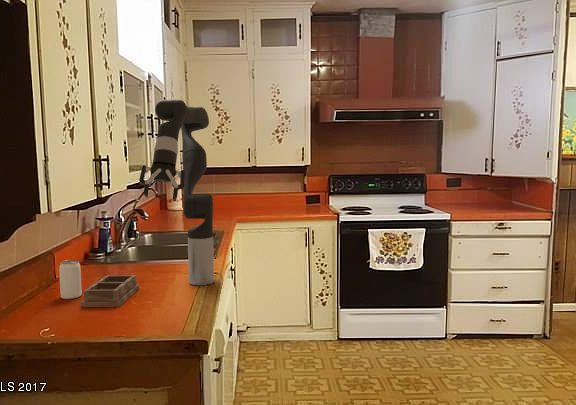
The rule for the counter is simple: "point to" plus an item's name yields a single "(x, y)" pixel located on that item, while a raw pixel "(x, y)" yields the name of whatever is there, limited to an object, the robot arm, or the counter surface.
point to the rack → (110, 291)
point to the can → (70, 279)
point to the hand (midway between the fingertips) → (160, 198)
